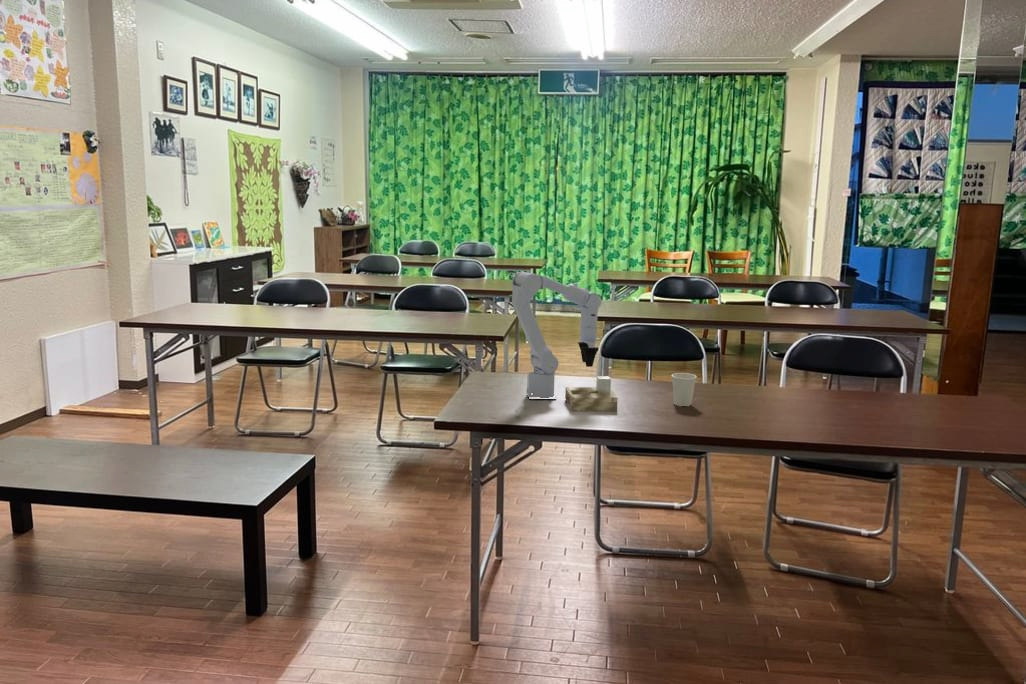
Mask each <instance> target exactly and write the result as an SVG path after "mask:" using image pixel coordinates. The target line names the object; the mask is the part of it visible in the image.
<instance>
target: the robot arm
mask: <svg viewBox="0 0 1026 684" xmlns="http://www.w3.org/2000/svg"><path fill="white" fill-rule="evenodd" d="M510 283H511V286H512V292H511V303H512V307H513V310H514V312H515V314H516V316H517V318H518V321H519V324H520V325H521V329H522V331H523V333H524V335H525V338H526V340H527V343H528V345H529V348H530V350H529V354H530V355H529V356H530V365H532V367H533V371H530V372H529V371H528V372H527V376H526V377H527V379H526V395H527V394H528V396H527V398H528V397H540V398H549V397H553V396H554V395H555V375H556V373H555V372H556V371H557V369H558V367H559V360H558V358H557V357H556V356H555V355H554V354H553V351H552V350H551V349H550V348H549V347H548V345H547V343H546V342H545V339H544V336H543V335H542V332H541V329H540V327H539V325H538V322H537V319H536V317H535V315H534V312H533V309H532V307H531V305H530V303H531V301H532V299H533V297H534V296H535V295H536V294H537V293H538V292H539V291H540V290H544V289H548V290H550V291H553V292H555V293H559V294H561V296H562V298H563V299H564V300H566V301H568V302H571V303H572V304H576V305H578V306H579V307H580V309H581V310H580V329H579V330H580V334H579V335H580V337H579V341H578V342H577V344H578V347H579V349H580V355H581V356H580V357H581V360H582V363H585V367H590V368H592V367H593V366H594V362H595V358H596V355H597V352H598V351H599V350H600V348H599V347H597V346H595V344H596V343H597V342H600V341H601V338H599V337H598V334H597V333H598V314H599V308H600V307H601V305H602V300H601V298H600V295H599V294H597V293H596V292H592V291H590V289H588V288H586V287H585V288H582V287H580V286H579V285H578V283H575V282H573V283H568V284H565V283H564V284H563V283H561V282H559V281H557V280H555V279H552V278H550V277H548V276H546V275H541V274H540V275H539V274H536V273H530V272H526V271H519V272H517V273H516V274H515V276H514V277H513V279H512V281H511V282H510ZM531 393H533V395H531Z"/></svg>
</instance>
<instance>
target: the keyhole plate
mask: <svg viewBox="0 0 1026 684" xmlns="http://www.w3.org/2000/svg"><path fill="white" fill-rule="evenodd" d="M564 396H565V397H564V400H565V399H566V401H570V402H569V403H570V405H569V409H570V408H571V410H603V411H602V412H617V411H618V402H619V400H618V399H619V397H618V396H617V395H616V394H615V393H614V391H613V389H612V388H611V389H610V394H598V393H597V391H596V386H592V387H590V386H588V387H587V386H586V387H583V386H577V387H575V386H573V387H571V386H569V387H567V386H566V387H565V395H564ZM566 401H565V402H566ZM571 410H570V411H571ZM604 410H606V411H604Z"/></svg>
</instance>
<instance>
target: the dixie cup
mask: <svg viewBox="0 0 1026 684" xmlns="http://www.w3.org/2000/svg"><path fill="white" fill-rule="evenodd" d="M697 378H698V376H697V375H696V374H694V373H693V374H692V373H688V372H687V373H686V372H675V373H672V374H671V381H672V383H671V384H672V395H673V397H672V398H673V405H674V404H675V406H676V405H677V407H681V406H688V407H691V406H692V402H693V396H694V392H695V385H696V381H697ZM690 405H691V406H690Z"/></svg>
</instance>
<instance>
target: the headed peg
mask: <svg viewBox="0 0 1026 684" xmlns="http://www.w3.org/2000/svg"><path fill="white" fill-rule="evenodd" d="M595 383H596V384H595V385H596V386H595V387H596V391H597V393H598V394H610V389H611V390H612V388H611V383H612V378H611V377H610V376H608V375H606V376H605V375H604V376H603V375H602V376H601V375H600V376H599V375H597V376H596V382H595Z"/></svg>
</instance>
